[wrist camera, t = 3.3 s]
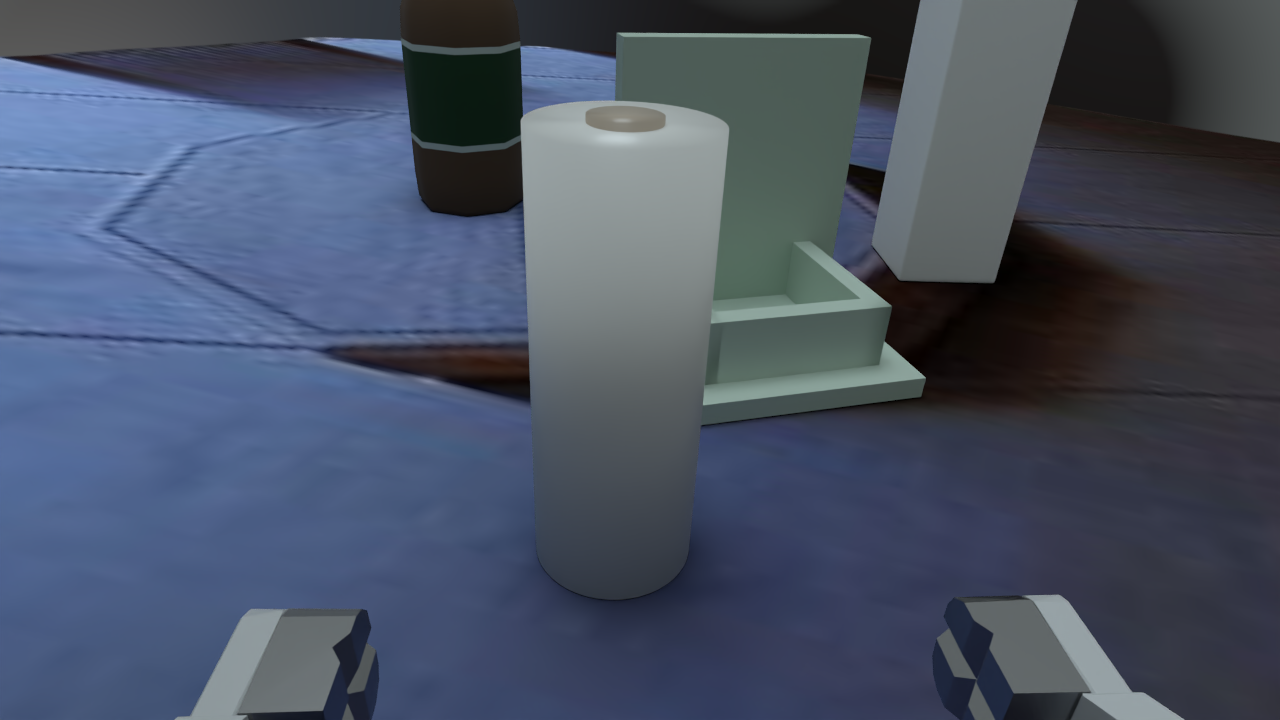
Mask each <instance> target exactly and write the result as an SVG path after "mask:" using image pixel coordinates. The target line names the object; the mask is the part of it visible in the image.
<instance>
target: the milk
mask: <svg viewBox="0 0 1280 720" xmlns="http://www.w3.org/2000/svg"><path fill="white" fill-rule="evenodd" d="M1076 3H1077V0H921V1H920V6H919V11H918V16H917V21H916V26H915V31H914V36H913V41H912V46H911V51H910V56H909V61H908V66H907V71H906V76H905V81H904V86H903V90H902V95H901V100H900V105H899V110H898V115H897V120H896V125H895V130H894V135H893V140H892V145H891V150H890V155H889V160H888V165H887V170H886V175H885V180H884V185H883V190H882V195H881V200H880V205H879V210H878V215H877V220H876V225H875V230H874V234H873V239H872V246H873V247H874V249H875V250H876V251H877V252H878V254H879V255H880V256H881V258H882V259H883V260H884V261H885V263H886V264H887V265H888V267H889V268H890V269H891V270H892V272H893V273H894V274H895V276H896V277H897V278H898V279H899V280H900V281H924V282H962V283H994V282H995V279H996V275H997V272H998V269H999V265H1000V262H1001V258H1002V255H1003V252H1004V248H1005V245H1006V241H1007V238H1008V234H1009V231H1010V228H1011V224H1012V221H1013V217H1014V214H1015V211H1016V207H1017V204H1018V200H1019V197H1020V194H1021V190H1022V187H1023V183H1024V180H1025V177H1026V173H1027V170H1028V166H1029V163H1030V160H1031V156H1032V153H1033V149H1034V146H1035V142H1036V139H1037V136H1038V132H1039V129H1040V125H1041V122H1042V119H1043V115H1044V112H1045V108H1046V105H1047V101H1048V98H1049V95H1050V91H1051V88H1052V85H1053V81H1054V78H1055V74H1056V71H1057V68H1058V64H1059V61H1060V57H1061V53H1062V50H1063V47H1064V43H1065V40H1066V37H1067V33H1068V30H1069V27H1070V23H1071V20H1072V16H1073V13H1074V10H1075V6H1076Z"/></svg>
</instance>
